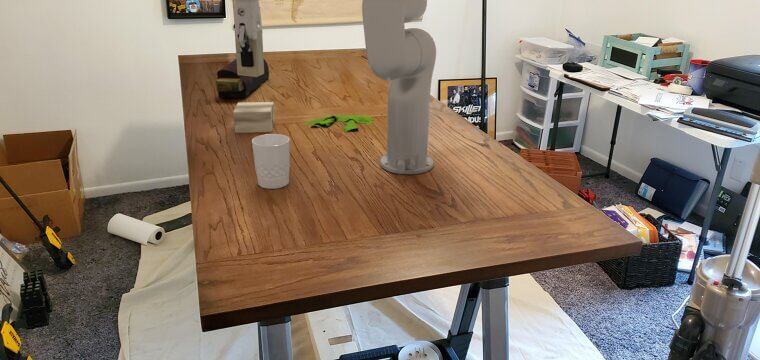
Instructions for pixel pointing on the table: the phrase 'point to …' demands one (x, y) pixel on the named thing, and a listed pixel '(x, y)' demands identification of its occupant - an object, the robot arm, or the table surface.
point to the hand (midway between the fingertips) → (250, 63)
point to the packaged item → (238, 81)
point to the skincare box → (257, 57)
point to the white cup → (272, 160)
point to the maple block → (254, 117)
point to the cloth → (348, 126)
